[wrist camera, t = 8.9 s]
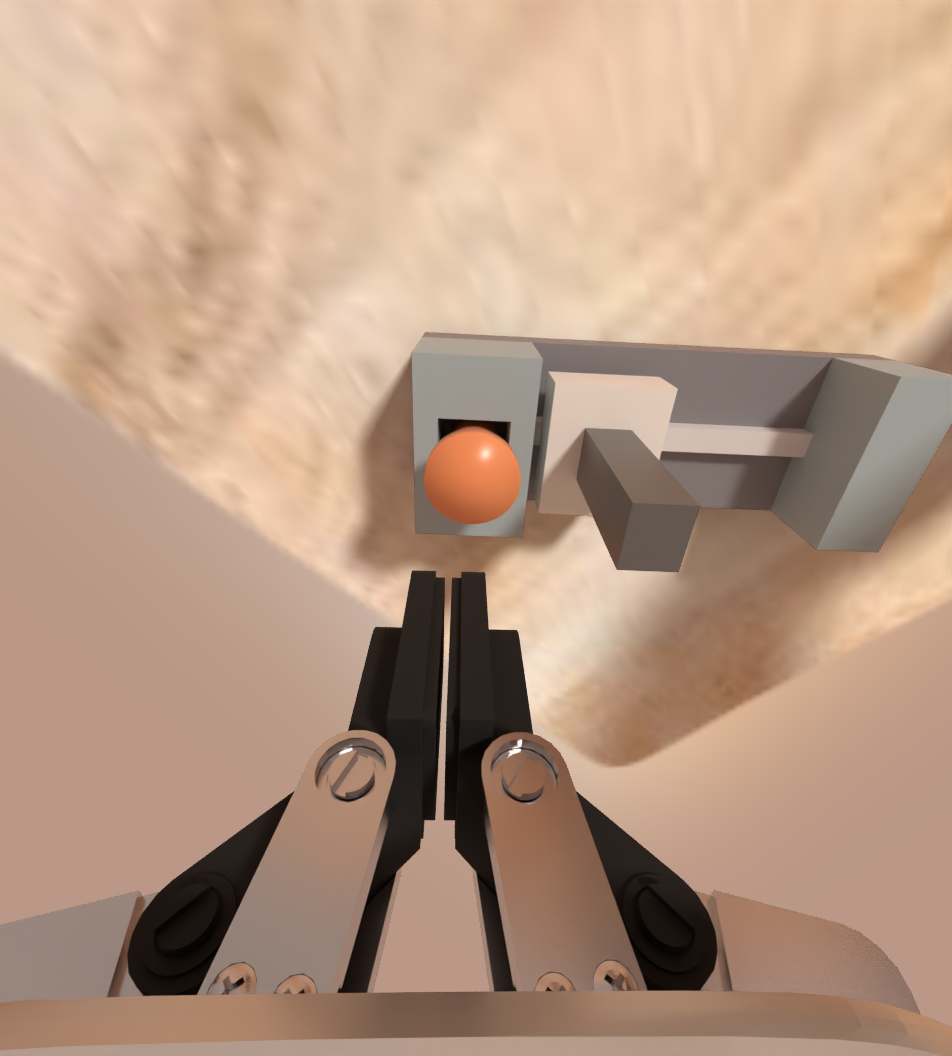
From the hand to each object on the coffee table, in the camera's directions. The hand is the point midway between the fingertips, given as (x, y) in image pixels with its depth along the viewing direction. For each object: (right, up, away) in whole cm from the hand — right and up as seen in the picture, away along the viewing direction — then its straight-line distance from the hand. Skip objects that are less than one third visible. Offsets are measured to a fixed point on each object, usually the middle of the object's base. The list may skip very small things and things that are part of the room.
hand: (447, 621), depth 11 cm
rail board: (+9, +8, +14) cm, 18 cm away
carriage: (+6, +7, +11) cm, 14 cm away
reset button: (+1, +6, +11) cm, 12 cm away
